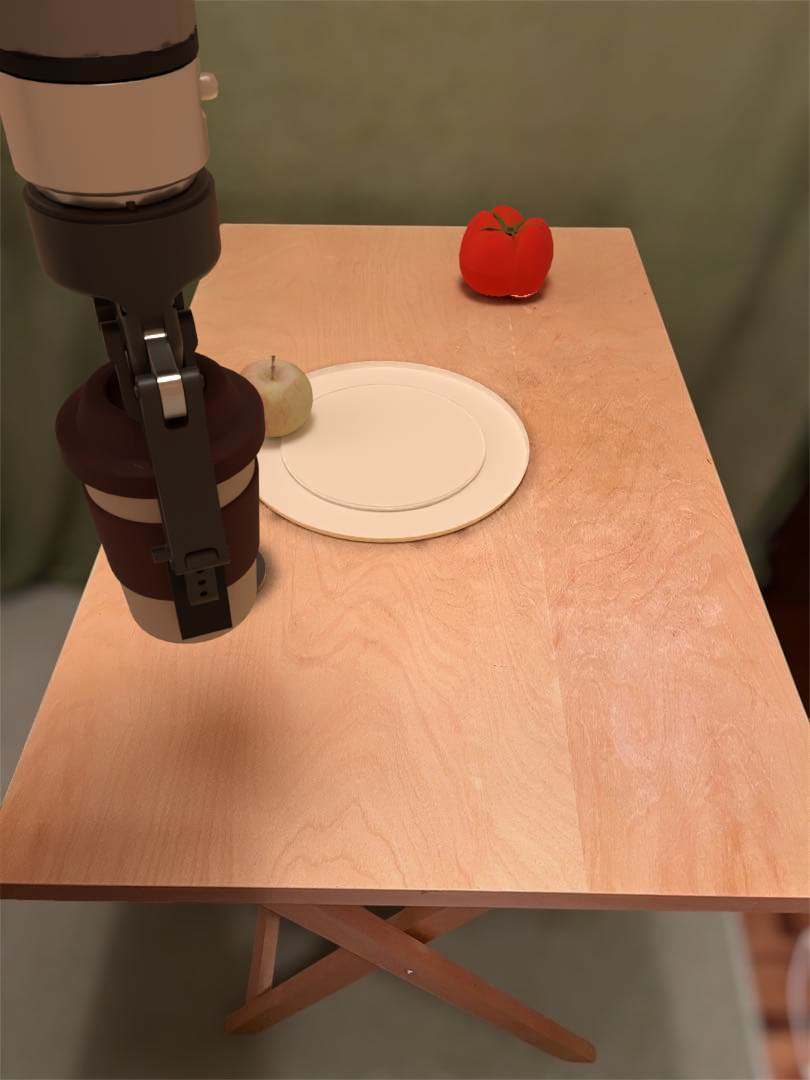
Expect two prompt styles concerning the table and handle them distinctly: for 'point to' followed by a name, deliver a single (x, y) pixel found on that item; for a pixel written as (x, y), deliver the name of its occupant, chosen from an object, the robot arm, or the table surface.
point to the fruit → (281, 394)
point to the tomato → (505, 253)
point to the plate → (394, 454)
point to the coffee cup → (131, 490)
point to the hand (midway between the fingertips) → (189, 572)
